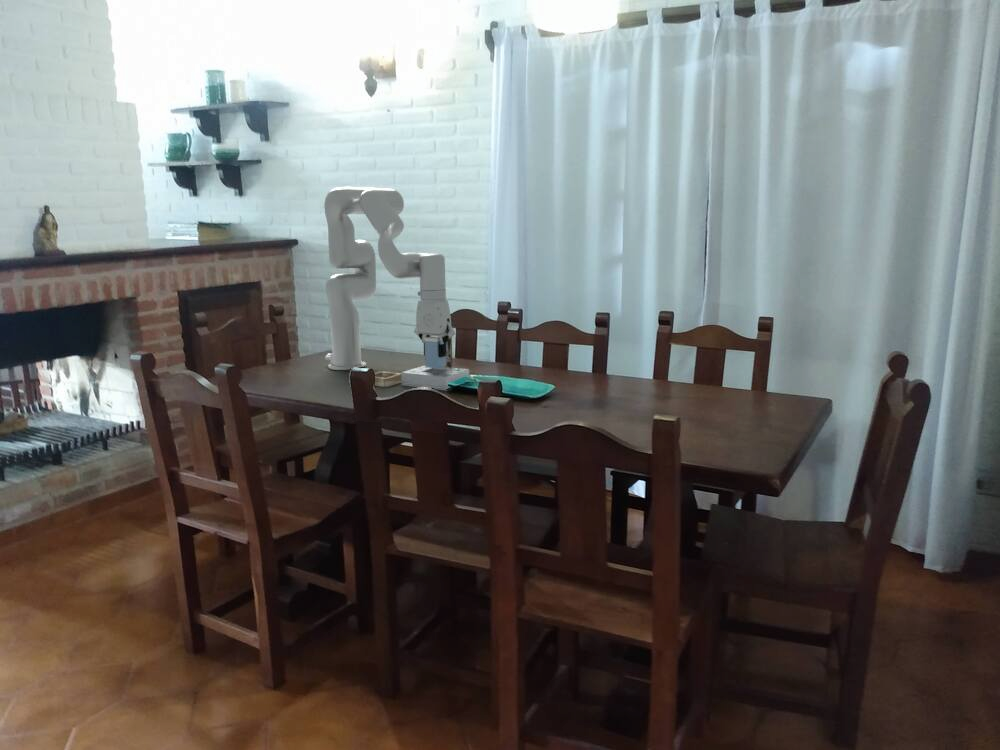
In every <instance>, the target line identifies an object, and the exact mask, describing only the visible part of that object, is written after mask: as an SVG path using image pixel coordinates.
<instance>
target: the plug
mask: <svg viewBox="0 0 1000 750" xmlns="http://www.w3.org/2000/svg"><path fill="white" fill-rule="evenodd" d="M424 341H425V354H424V364H425V367H429V368H440V367H443V366H446V360H445V356H444V357H439V350H438V344H440V342H439V337H438V336H429V337H425V338H424Z"/></svg>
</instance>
